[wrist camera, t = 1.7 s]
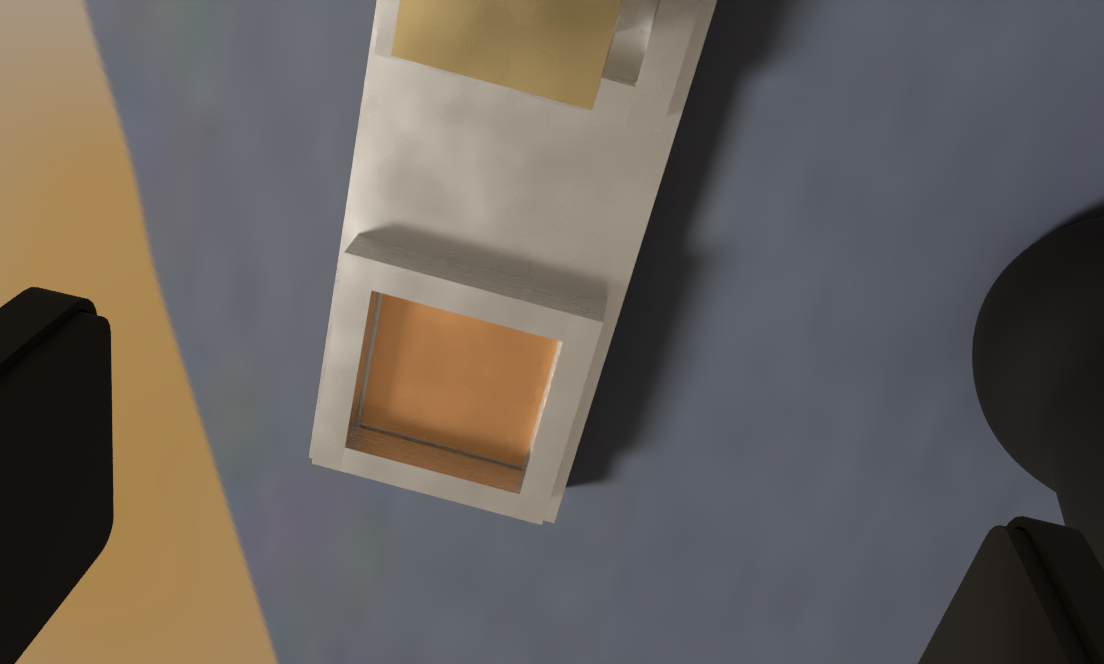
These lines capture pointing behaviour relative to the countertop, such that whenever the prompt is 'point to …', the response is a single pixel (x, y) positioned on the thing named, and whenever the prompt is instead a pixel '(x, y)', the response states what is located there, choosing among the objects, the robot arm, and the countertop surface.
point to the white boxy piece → (492, 264)
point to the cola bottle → (1050, 369)
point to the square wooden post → (513, 42)
